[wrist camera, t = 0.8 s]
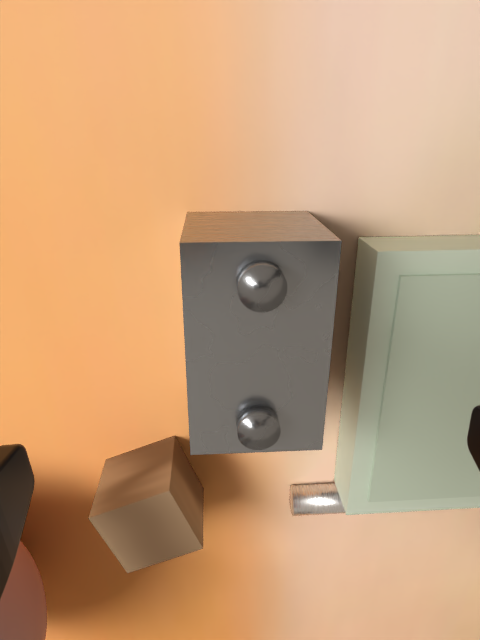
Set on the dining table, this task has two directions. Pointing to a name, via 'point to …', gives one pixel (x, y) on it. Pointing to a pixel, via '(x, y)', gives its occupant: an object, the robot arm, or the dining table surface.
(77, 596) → the dining table surface
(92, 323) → the dining table surface
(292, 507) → the steel pin
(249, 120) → the dining table surface
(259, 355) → the block
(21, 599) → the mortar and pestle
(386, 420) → the pale green flat slab
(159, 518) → the walnut block
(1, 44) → the dining table surface
